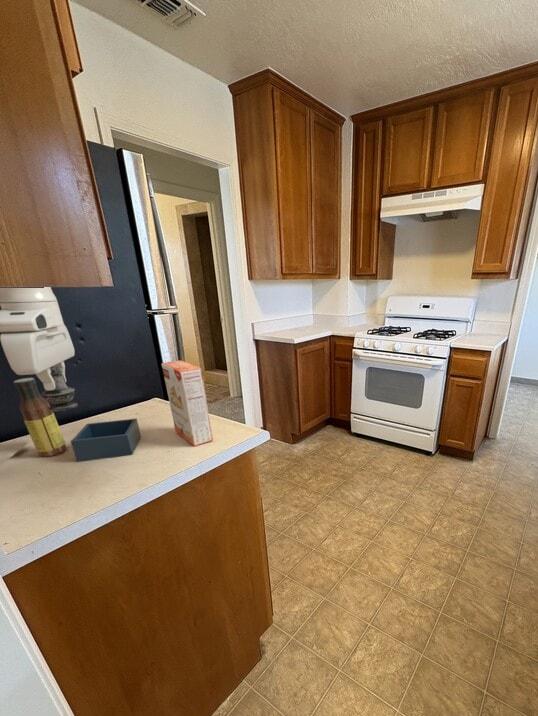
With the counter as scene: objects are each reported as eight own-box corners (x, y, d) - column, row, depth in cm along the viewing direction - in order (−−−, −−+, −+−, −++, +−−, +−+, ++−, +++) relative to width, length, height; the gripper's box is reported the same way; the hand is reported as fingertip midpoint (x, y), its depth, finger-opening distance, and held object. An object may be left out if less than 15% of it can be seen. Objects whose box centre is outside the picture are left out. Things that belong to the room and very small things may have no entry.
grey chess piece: (73, 401, 80) (56, 347, 75) (84, 406, 77) (67, 350, 72) (42, 408, 75) (22, 351, 71) (52, 413, 72) (33, 354, 67)
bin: (77, 461, 88) (70, 441, 86) (92, 442, 99) (86, 423, 97) (132, 454, 91) (127, 435, 89) (141, 436, 102) (136, 418, 100)
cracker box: (174, 432, 105) (160, 362, 96) (194, 427, 108) (182, 359, 100) (192, 447, 95) (178, 370, 87) (213, 441, 98) (202, 366, 90)
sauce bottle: (64, 445, 97) (40, 374, 90) (69, 452, 93) (45, 378, 86) (35, 452, 93) (7, 379, 85) (39, 460, 89) (10, 384, 81)
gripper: (39, 314, 77) (59, 376, 83) (-16, 323, 59) (14, 401, 64) (72, 313, 79) (89, 374, 84) (28, 321, 61) (54, 398, 66)
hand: (56, 386), depth 74 cm, fingers closed on grey chess piece, 3 cm apart
